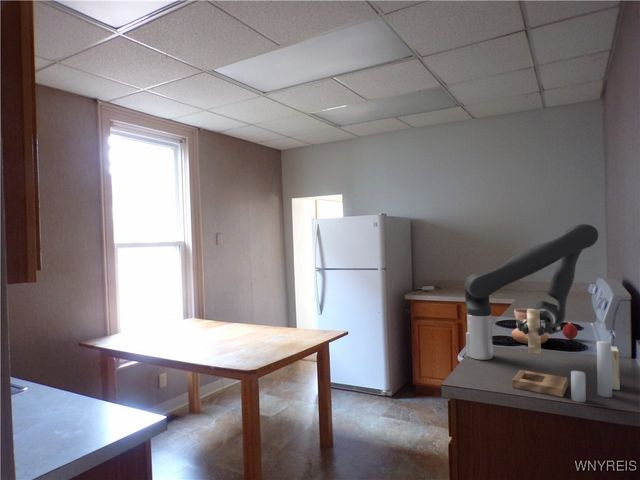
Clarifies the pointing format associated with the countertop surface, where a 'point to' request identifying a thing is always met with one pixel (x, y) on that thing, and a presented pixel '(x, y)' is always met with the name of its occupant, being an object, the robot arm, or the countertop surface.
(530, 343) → the beech dowel
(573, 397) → the short grey dowel
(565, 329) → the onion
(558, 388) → the wooden board with hole
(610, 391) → the tall grey dowel
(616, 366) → the skincare box
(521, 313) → the ceramic jug
